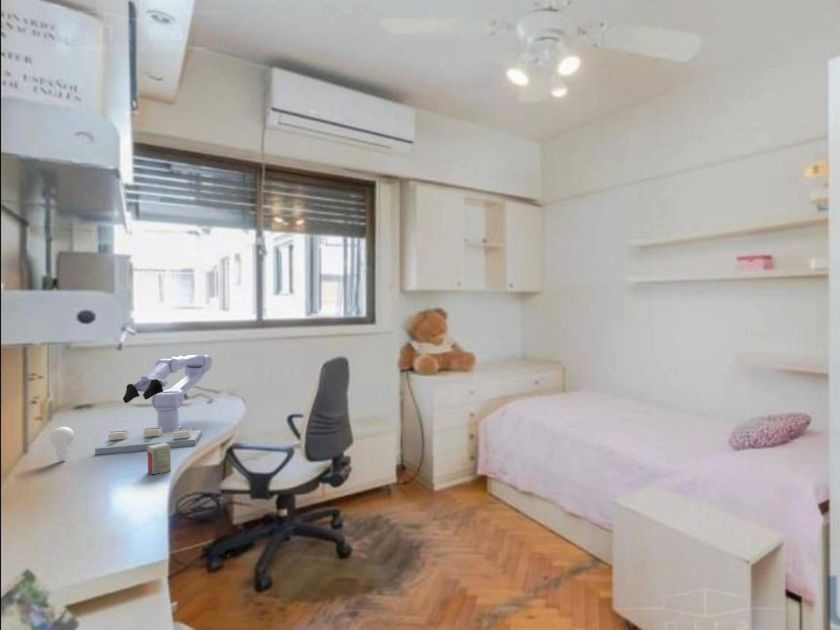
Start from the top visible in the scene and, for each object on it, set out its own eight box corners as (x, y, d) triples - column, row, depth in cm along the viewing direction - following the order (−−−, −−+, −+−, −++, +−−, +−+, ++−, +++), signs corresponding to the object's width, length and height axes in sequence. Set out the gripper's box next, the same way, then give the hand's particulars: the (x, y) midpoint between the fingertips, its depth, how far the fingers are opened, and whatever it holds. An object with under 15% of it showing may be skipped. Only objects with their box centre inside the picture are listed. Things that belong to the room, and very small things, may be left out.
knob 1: (112, 437, 168) (112, 430, 168) (128, 436, 169) (128, 429, 169) (108, 440, 164) (108, 433, 164) (124, 438, 165) (124, 431, 165)
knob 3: (175, 436, 167) (175, 429, 167) (190, 434, 169) (190, 428, 169) (173, 439, 163) (173, 432, 163) (188, 437, 165) (188, 430, 165)
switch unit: (111, 442, 169) (110, 437, 169) (202, 434, 178) (202, 429, 178) (95, 454, 154) (95, 448, 154) (195, 445, 163) (195, 439, 163)
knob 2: (146, 434, 171) (146, 427, 171) (161, 433, 172) (161, 426, 172) (143, 437, 167) (143, 430, 167) (159, 435, 168) (159, 428, 168)
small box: (166, 468, 139) (165, 441, 139) (171, 471, 136) (170, 444, 136) (147, 472, 136) (146, 445, 136) (152, 475, 133) (151, 448, 133)
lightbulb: (61, 464, 144) (60, 429, 144) (45, 464, 146) (44, 429, 146) (79, 458, 150) (78, 425, 150) (63, 457, 152) (63, 424, 152)
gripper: (132, 372, 175) (110, 393, 162) (168, 366, 174) (148, 386, 161) (141, 388, 178) (119, 409, 165) (176, 381, 176) (157, 402, 164)
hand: (134, 399), depth 163 cm, fingers open, 7 cm apart
